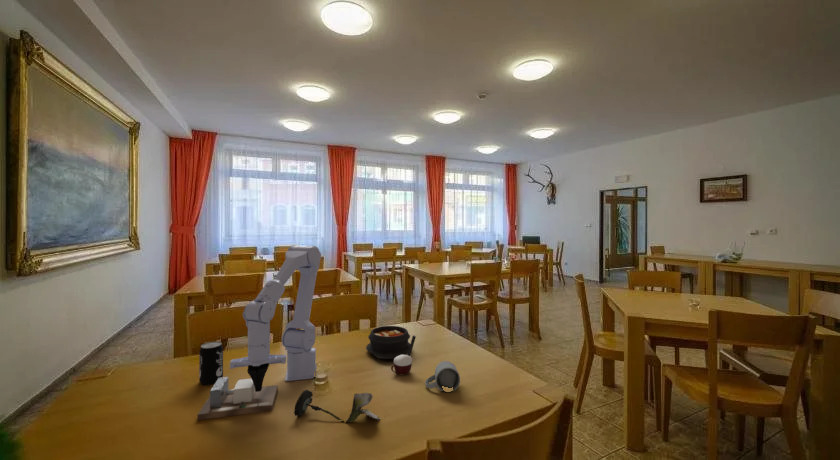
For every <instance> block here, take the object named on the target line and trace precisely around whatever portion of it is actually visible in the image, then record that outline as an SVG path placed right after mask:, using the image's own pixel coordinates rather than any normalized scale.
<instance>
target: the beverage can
mask: <svg viewBox="0 0 840 460" xmlns="http://www.w3.org/2000/svg"><path fill="white" fill-rule="evenodd" d="M222 344H223V343H222V342H221V341H210V342H208V341H207V342H205V343H203V344H201V345H200V349H199V352H198V353H199V355H198V358H199V360H198V361H199V362H198V363H199V370H198V371H199V372H198V373H199V377H198V379H199V380H198V381H199V383H200V384H201V385H204V386H205V385H206V386H207V385H208V386H210V385H214V384H215V383H216V381H217V380H218V378H222V377H224V346H223V345H222Z"/></svg>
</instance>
